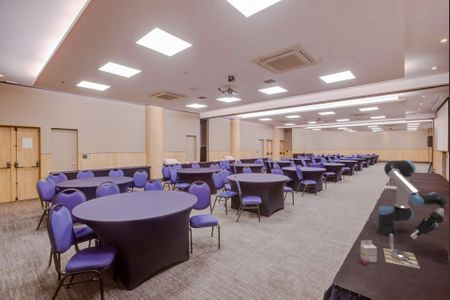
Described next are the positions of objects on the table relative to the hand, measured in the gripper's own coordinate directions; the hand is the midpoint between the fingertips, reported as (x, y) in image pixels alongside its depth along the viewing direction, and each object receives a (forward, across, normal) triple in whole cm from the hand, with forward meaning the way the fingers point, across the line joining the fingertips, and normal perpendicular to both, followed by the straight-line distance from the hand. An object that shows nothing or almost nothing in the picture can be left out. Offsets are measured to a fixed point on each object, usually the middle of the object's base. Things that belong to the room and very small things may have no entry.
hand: (412, 237), depth 165 cm
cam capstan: (+16, -7, 0) cm, 18 cm away
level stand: (+17, -7, -2) cm, 19 cm away
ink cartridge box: (+33, -14, +14) cm, 39 cm away
